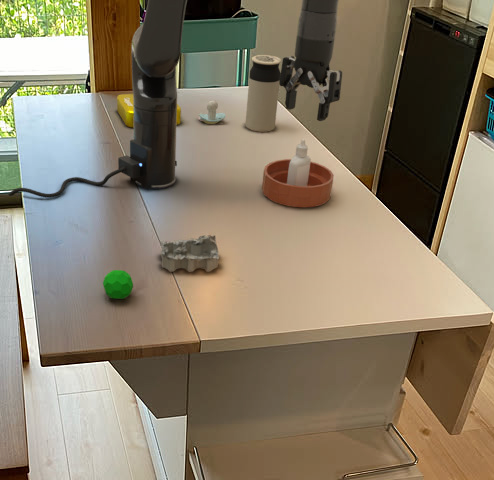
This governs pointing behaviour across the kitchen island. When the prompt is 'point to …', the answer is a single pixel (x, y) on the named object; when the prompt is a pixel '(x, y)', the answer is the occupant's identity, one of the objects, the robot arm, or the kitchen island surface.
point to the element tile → (128, 112)
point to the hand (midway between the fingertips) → (305, 114)
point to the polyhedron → (118, 284)
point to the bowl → (297, 195)
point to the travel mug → (263, 93)
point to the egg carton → (190, 254)
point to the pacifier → (212, 114)
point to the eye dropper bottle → (299, 166)
